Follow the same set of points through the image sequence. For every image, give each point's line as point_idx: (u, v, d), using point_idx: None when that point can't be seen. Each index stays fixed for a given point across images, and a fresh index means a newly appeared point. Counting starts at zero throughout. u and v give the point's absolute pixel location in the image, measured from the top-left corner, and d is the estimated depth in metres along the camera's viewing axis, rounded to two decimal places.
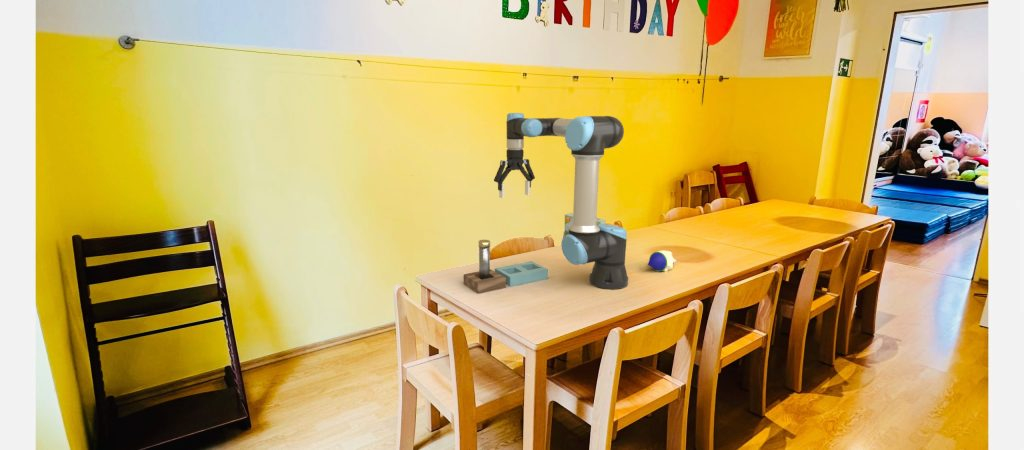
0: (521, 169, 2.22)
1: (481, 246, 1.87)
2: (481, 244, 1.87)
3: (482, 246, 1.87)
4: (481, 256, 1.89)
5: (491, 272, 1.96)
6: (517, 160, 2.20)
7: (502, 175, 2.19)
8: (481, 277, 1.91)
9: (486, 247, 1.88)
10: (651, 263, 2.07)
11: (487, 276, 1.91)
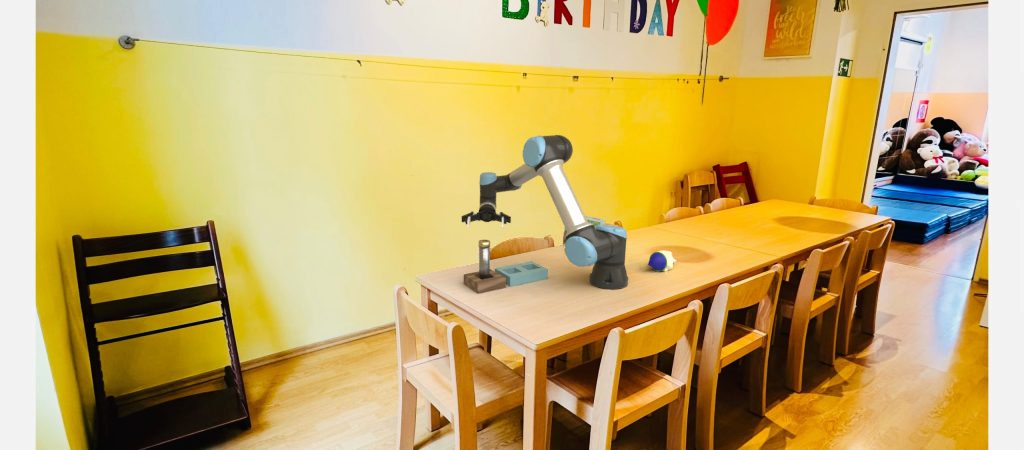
0: (493, 214, 2.09)
1: (481, 246, 1.87)
2: (481, 244, 1.87)
3: (482, 246, 1.87)
4: (481, 256, 1.89)
5: (491, 272, 1.96)
6: (488, 212, 2.13)
7: None
8: (481, 277, 1.91)
9: (486, 247, 1.88)
10: (651, 263, 2.07)
11: (487, 276, 1.91)
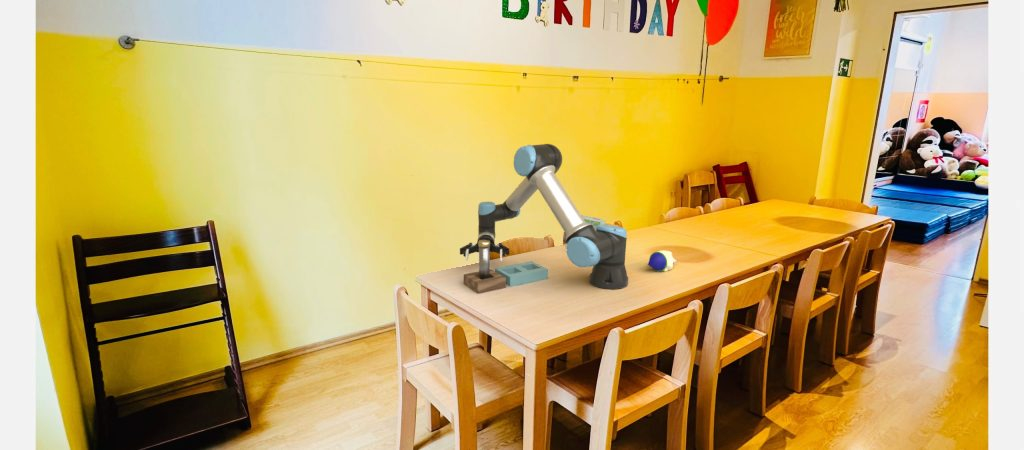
0: (491, 246, 2.08)
1: (481, 246, 1.87)
2: (481, 244, 1.87)
3: (482, 246, 1.87)
4: (481, 256, 1.89)
5: (491, 272, 1.96)
6: None
7: None
8: (481, 277, 1.91)
9: (486, 247, 1.88)
10: (651, 263, 2.07)
11: (487, 276, 1.91)
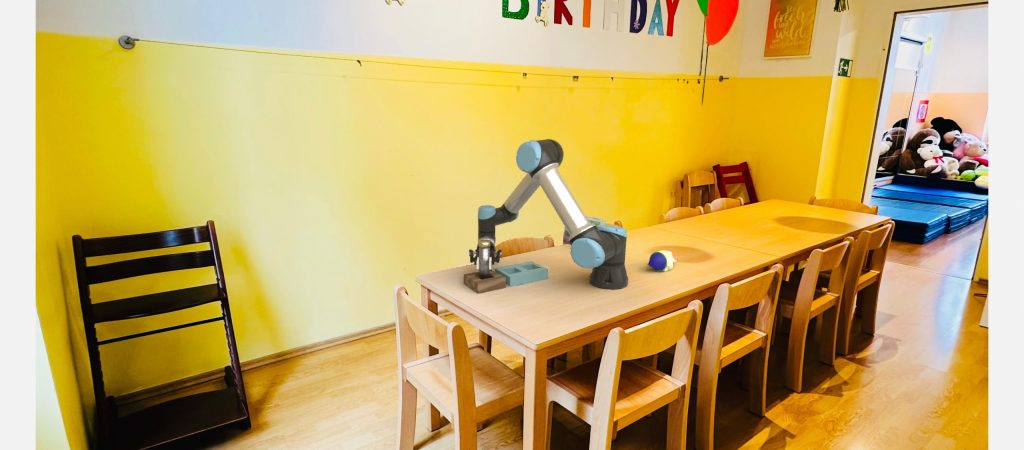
0: None
1: (481, 246, 1.87)
2: (481, 244, 1.87)
3: (482, 246, 1.87)
4: (481, 256, 1.89)
5: (491, 272, 1.96)
6: None
7: None
8: (481, 277, 1.91)
9: (486, 247, 1.87)
10: (651, 263, 2.07)
11: (487, 276, 1.91)
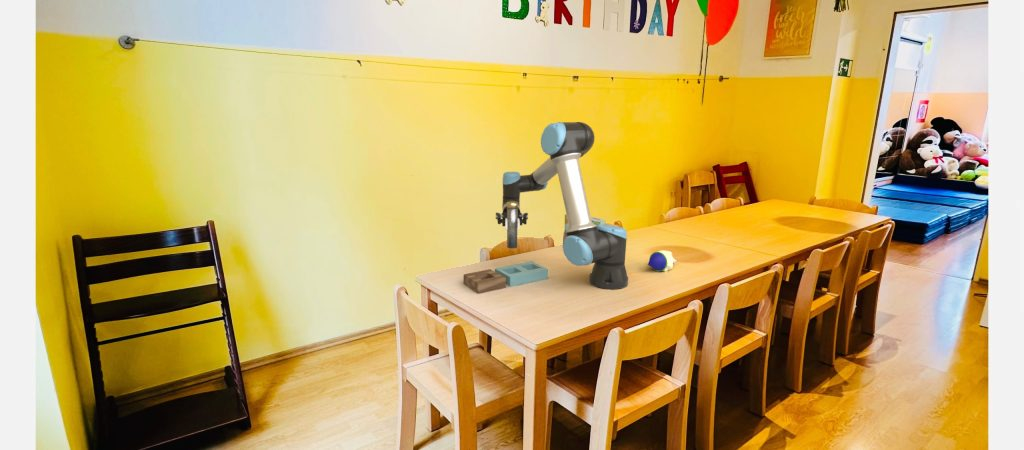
0: None
1: (509, 207, 1.90)
2: (510, 204, 1.90)
3: (510, 207, 1.90)
4: (509, 217, 1.92)
5: (491, 272, 1.96)
6: None
7: None
8: (509, 238, 1.94)
9: (514, 208, 1.91)
10: (651, 263, 2.07)
11: (515, 237, 1.94)
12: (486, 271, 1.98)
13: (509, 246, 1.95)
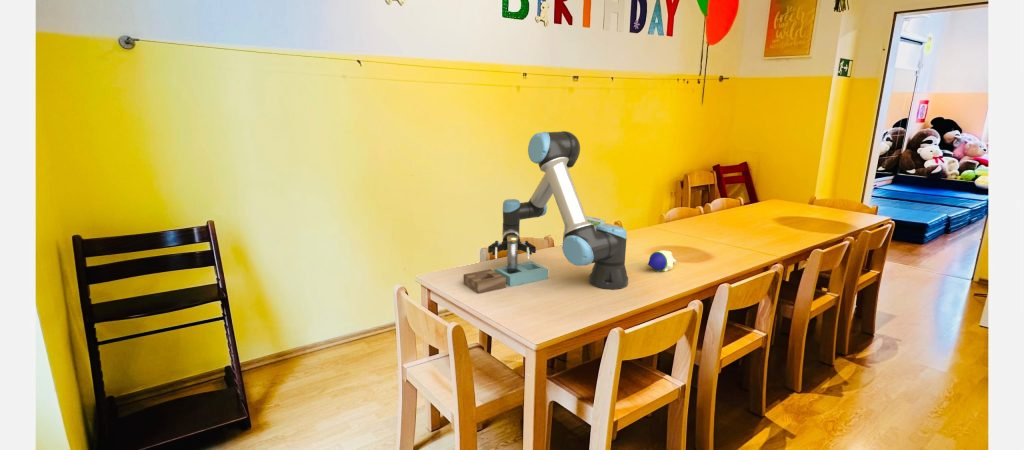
0: (518, 244, 2.05)
1: (510, 241, 1.94)
2: (510, 239, 1.94)
3: (511, 241, 1.94)
4: (509, 251, 1.95)
5: (491, 272, 1.96)
6: None
7: (497, 248, 2.03)
8: (509, 271, 1.97)
9: (514, 242, 1.94)
10: (651, 263, 2.07)
11: (515, 270, 1.97)
12: (486, 271, 1.98)
13: None
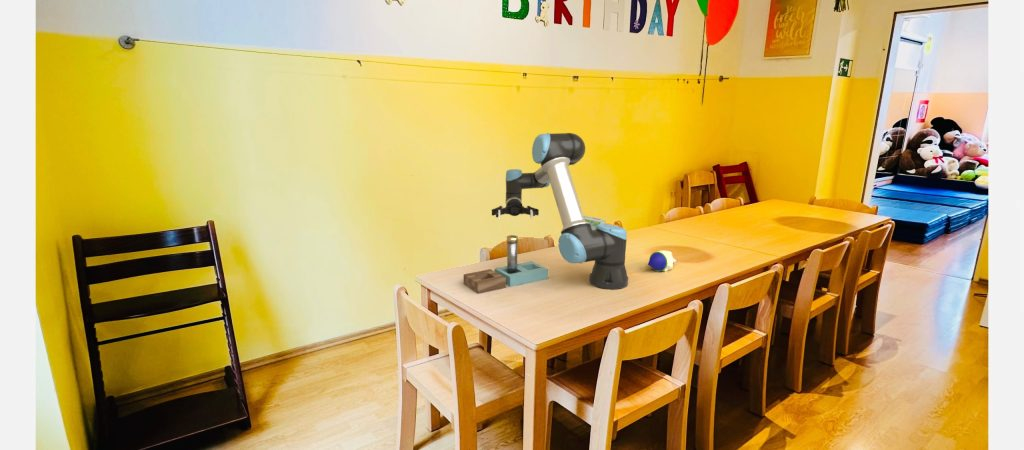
0: (521, 208, 2.19)
1: (509, 241, 1.94)
2: (510, 239, 1.94)
3: (510, 241, 1.94)
4: (509, 251, 1.95)
5: (491, 272, 1.96)
6: (516, 206, 2.23)
7: None
8: (509, 271, 1.97)
9: (514, 242, 1.94)
10: (651, 263, 2.07)
11: (515, 270, 1.97)
12: (486, 271, 1.98)
13: None
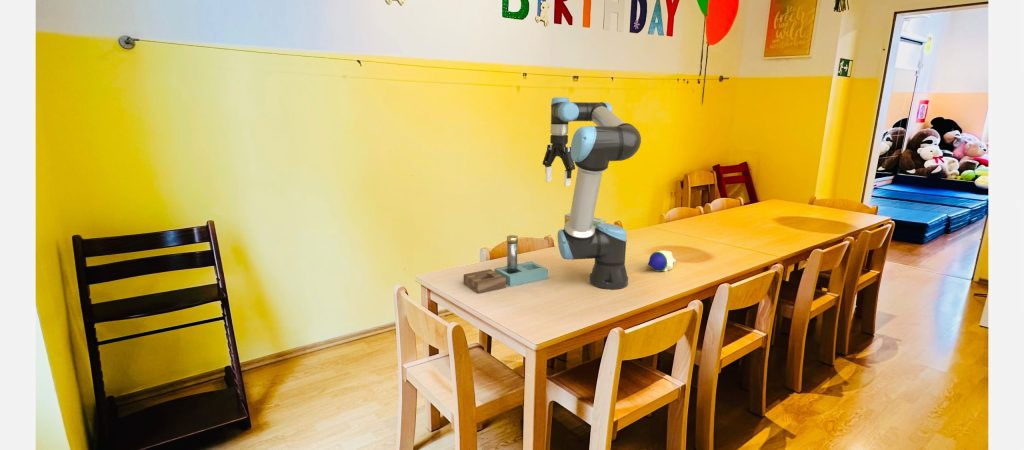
0: None
1: (509, 241, 1.94)
2: (510, 239, 1.94)
3: (510, 241, 1.94)
4: (509, 251, 1.95)
5: (491, 272, 1.96)
6: (557, 146, 2.13)
7: None
8: (509, 271, 1.97)
9: (514, 242, 1.94)
10: (651, 263, 2.07)
11: (515, 270, 1.97)
12: (486, 271, 1.98)
13: None
